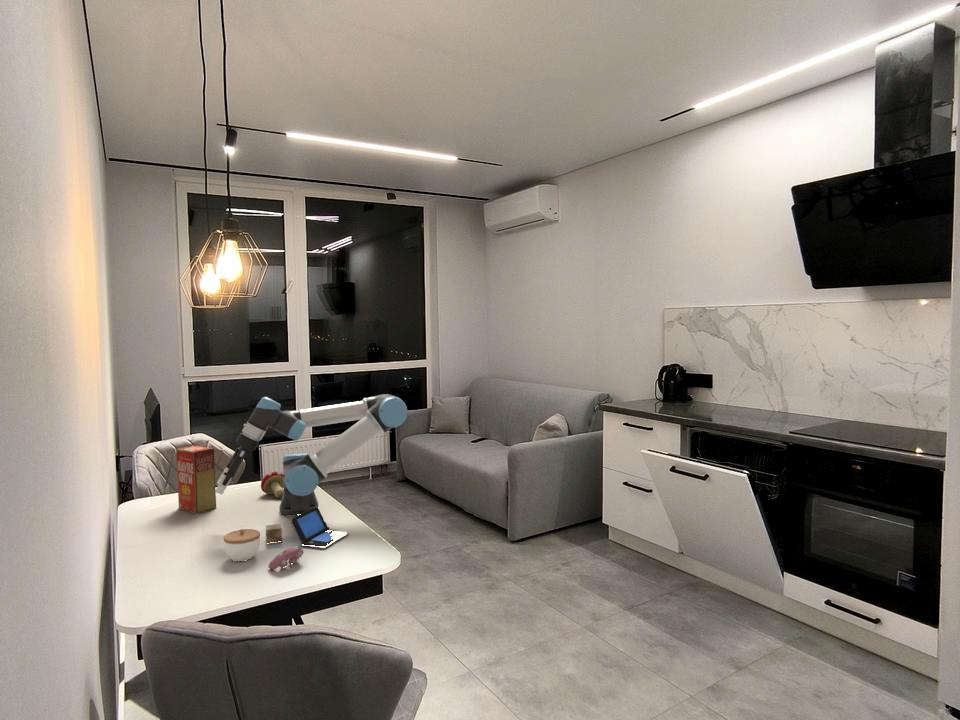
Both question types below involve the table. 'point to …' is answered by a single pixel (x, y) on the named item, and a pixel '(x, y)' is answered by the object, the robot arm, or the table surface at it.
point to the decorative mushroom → (273, 484)
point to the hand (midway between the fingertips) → (219, 488)
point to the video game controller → (286, 557)
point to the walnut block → (273, 533)
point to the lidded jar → (242, 544)
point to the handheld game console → (312, 528)
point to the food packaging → (196, 479)
